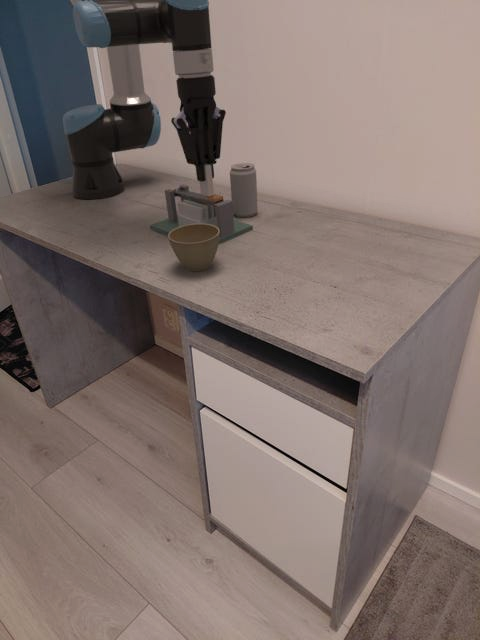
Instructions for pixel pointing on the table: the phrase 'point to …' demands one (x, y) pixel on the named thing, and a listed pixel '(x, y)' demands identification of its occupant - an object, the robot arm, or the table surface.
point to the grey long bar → (198, 196)
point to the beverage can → (243, 189)
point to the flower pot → (195, 245)
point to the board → (201, 216)
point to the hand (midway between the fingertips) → (207, 194)
